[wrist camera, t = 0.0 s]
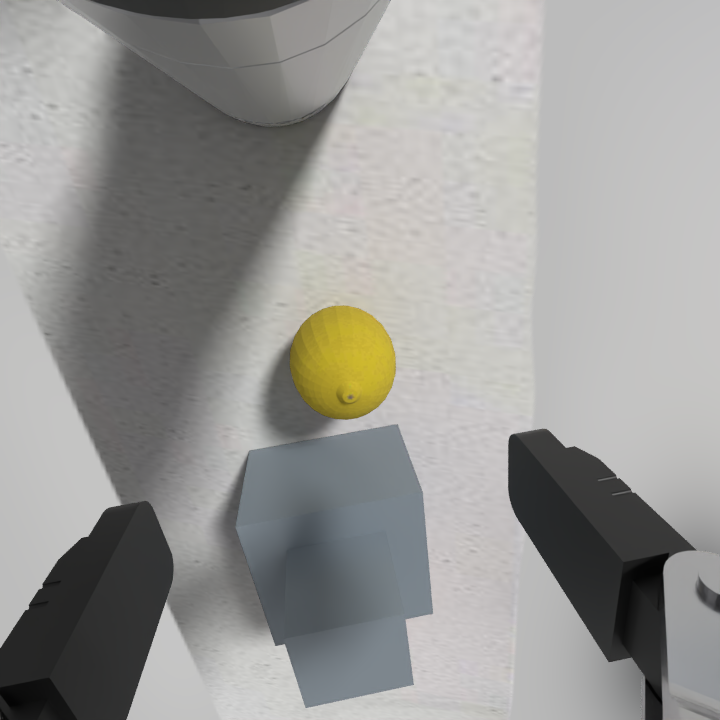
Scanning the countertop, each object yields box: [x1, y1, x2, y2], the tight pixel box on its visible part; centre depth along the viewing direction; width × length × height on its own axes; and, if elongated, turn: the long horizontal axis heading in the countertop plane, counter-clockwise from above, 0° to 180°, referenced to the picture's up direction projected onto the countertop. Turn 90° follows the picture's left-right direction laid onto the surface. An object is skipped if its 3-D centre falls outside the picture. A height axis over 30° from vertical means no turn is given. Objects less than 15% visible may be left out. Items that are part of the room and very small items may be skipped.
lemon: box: [290, 306, 396, 420], centre depth 23 cm, size 6×6×8 cm
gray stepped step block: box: [235, 424, 433, 708], centre depth 26 cm, size 10×10×12 cm
